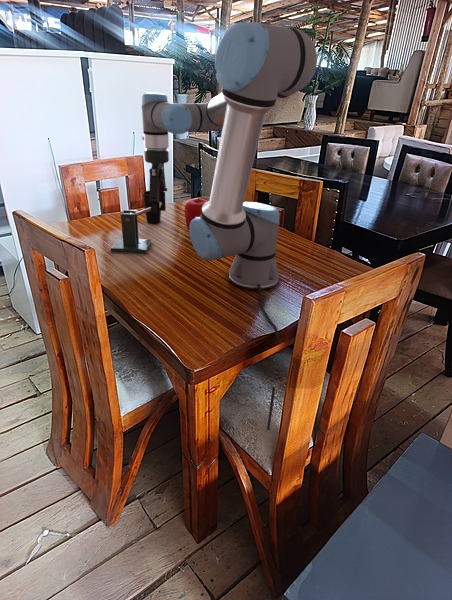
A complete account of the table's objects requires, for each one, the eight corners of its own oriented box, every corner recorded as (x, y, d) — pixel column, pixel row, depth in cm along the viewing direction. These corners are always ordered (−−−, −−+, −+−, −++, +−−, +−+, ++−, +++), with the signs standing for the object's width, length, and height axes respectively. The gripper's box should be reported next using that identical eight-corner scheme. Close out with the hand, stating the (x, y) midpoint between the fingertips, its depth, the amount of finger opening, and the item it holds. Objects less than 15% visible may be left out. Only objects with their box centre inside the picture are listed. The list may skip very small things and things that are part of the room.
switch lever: (163, 205, 136) (160, 199, 135) (160, 210, 131) (157, 203, 130) (129, 219, 138) (125, 213, 137) (125, 224, 134) (122, 218, 132)
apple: (186, 226, 162) (186, 193, 156) (211, 228, 162) (212, 195, 155) (182, 235, 153) (182, 200, 146) (209, 237, 153) (210, 202, 146)
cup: (140, 222, 164) (138, 193, 158) (151, 217, 170) (150, 189, 164) (155, 226, 161) (154, 196, 155) (166, 221, 167) (165, 192, 161)
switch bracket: (151, 243, 145) (149, 208, 139) (146, 253, 136) (144, 217, 130) (117, 241, 145) (114, 207, 138) (110, 252, 136) (107, 215, 130)
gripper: (150, 142, 135) (153, 205, 145) (136, 154, 114) (140, 227, 124) (173, 143, 135) (174, 206, 145) (162, 156, 114) (164, 228, 124)
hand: (158, 216), depth 135 cm, fingers open, 12 cm apart
